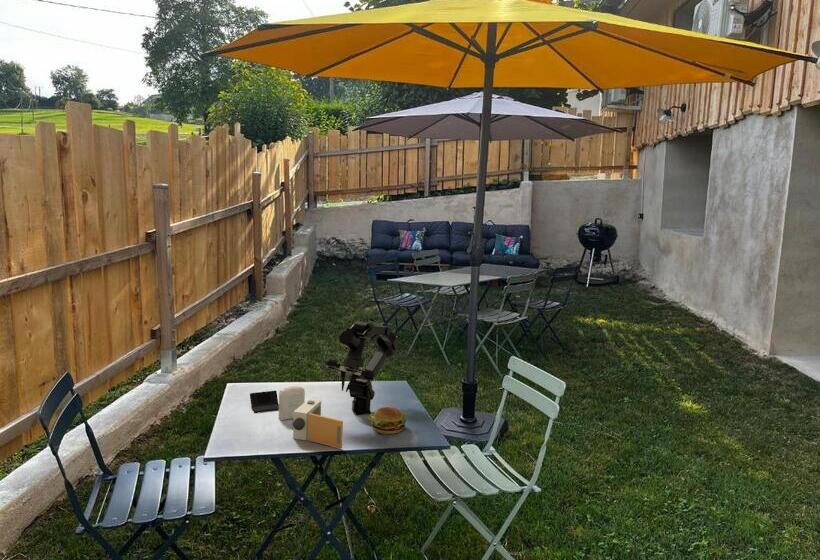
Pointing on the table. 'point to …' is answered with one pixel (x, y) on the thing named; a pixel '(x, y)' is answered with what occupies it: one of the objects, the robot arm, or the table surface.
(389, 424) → the food
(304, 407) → the action camera
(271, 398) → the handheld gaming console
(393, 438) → the table surface
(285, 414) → the cream rounded slab
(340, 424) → the side door
